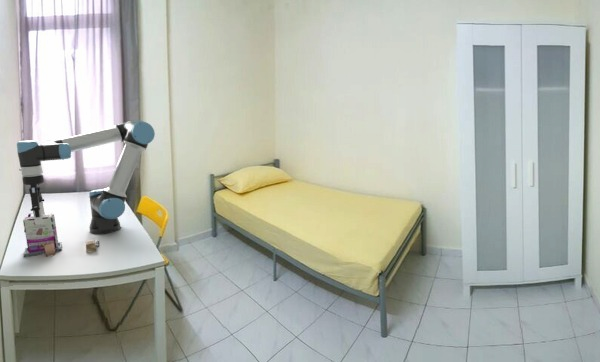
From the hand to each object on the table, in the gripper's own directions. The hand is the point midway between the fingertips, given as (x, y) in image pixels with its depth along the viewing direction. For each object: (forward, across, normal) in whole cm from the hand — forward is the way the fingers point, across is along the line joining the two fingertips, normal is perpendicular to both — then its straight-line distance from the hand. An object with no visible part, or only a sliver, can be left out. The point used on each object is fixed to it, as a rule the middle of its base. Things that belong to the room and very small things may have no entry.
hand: (40, 219), depth 159 cm
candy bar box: (+15, 0, -1) cm, 15 cm away
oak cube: (+16, +10, +18) cm, 26 cm away
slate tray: (+16, 0, -1) cm, 16 cm away
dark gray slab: (+17, +4, +20) cm, 26 cm away
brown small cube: (+16, +7, +2) cm, 17 cm away
